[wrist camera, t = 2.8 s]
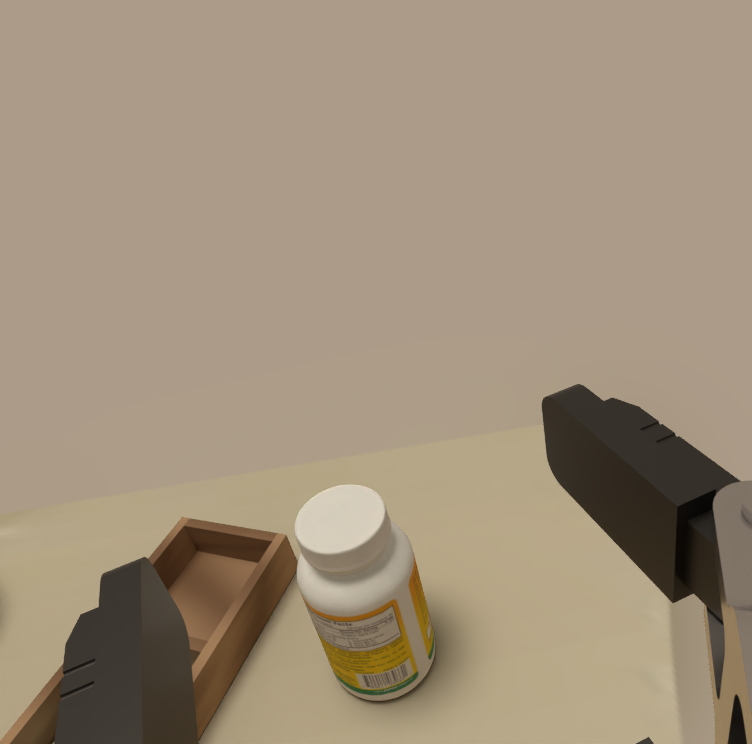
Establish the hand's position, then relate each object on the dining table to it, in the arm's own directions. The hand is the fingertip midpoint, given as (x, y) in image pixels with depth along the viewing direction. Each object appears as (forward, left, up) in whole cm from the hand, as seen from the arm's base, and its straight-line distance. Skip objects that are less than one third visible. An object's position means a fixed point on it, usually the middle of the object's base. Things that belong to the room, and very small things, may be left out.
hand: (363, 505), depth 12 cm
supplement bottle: (+8, +7, -20) cm, 23 cm away
